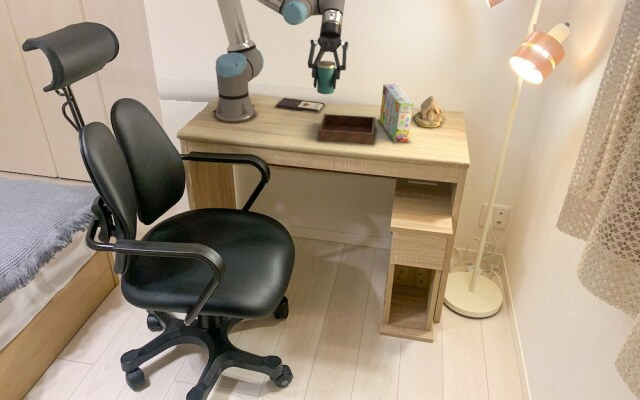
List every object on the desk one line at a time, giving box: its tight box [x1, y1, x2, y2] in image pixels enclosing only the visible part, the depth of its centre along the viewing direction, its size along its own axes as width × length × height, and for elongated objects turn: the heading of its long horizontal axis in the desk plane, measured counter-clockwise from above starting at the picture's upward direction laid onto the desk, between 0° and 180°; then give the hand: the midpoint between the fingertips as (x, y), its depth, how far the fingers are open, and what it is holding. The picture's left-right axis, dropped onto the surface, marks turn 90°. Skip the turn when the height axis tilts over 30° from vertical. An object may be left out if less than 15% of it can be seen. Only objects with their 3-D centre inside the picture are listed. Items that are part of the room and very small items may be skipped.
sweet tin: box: [316, 60, 336, 95], centre depth 168 cm, size 6×6×10 cm
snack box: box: [379, 83, 414, 143], centre depth 177 cm, size 21×6×15 cm, turn 9°
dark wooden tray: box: [318, 113, 376, 145], centre depth 177 cm, size 20×16×4 cm
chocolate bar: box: [275, 97, 325, 113], centre depth 201 cm, size 9×1×18 cm
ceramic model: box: [414, 95, 444, 128], centre depth 187 cm, size 14×11×10 cm
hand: (324, 86), depth 166 cm, fingers closed on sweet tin, 6 cm apart
